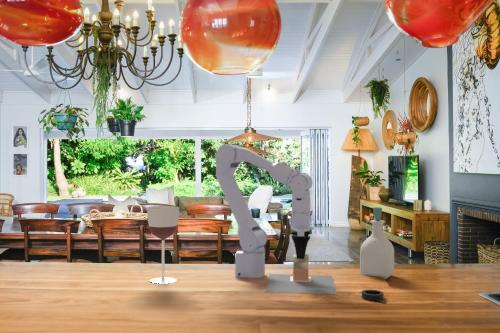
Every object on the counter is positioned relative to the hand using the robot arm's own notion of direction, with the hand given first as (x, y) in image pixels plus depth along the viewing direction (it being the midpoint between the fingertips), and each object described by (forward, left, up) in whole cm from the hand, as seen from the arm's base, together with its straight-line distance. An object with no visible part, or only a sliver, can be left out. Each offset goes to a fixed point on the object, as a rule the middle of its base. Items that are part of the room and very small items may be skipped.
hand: (300, 256), depth 156 cm
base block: (0, 0, -7) cm, 7 cm away
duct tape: (+19, -19, -9) cm, 28 cm away
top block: (0, 0, -3) cm, 3 cm away
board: (0, -5, -8) cm, 10 cm away
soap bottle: (+25, +12, -9) cm, 29 cm away
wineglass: (-43, -2, -9) cm, 44 cm away
